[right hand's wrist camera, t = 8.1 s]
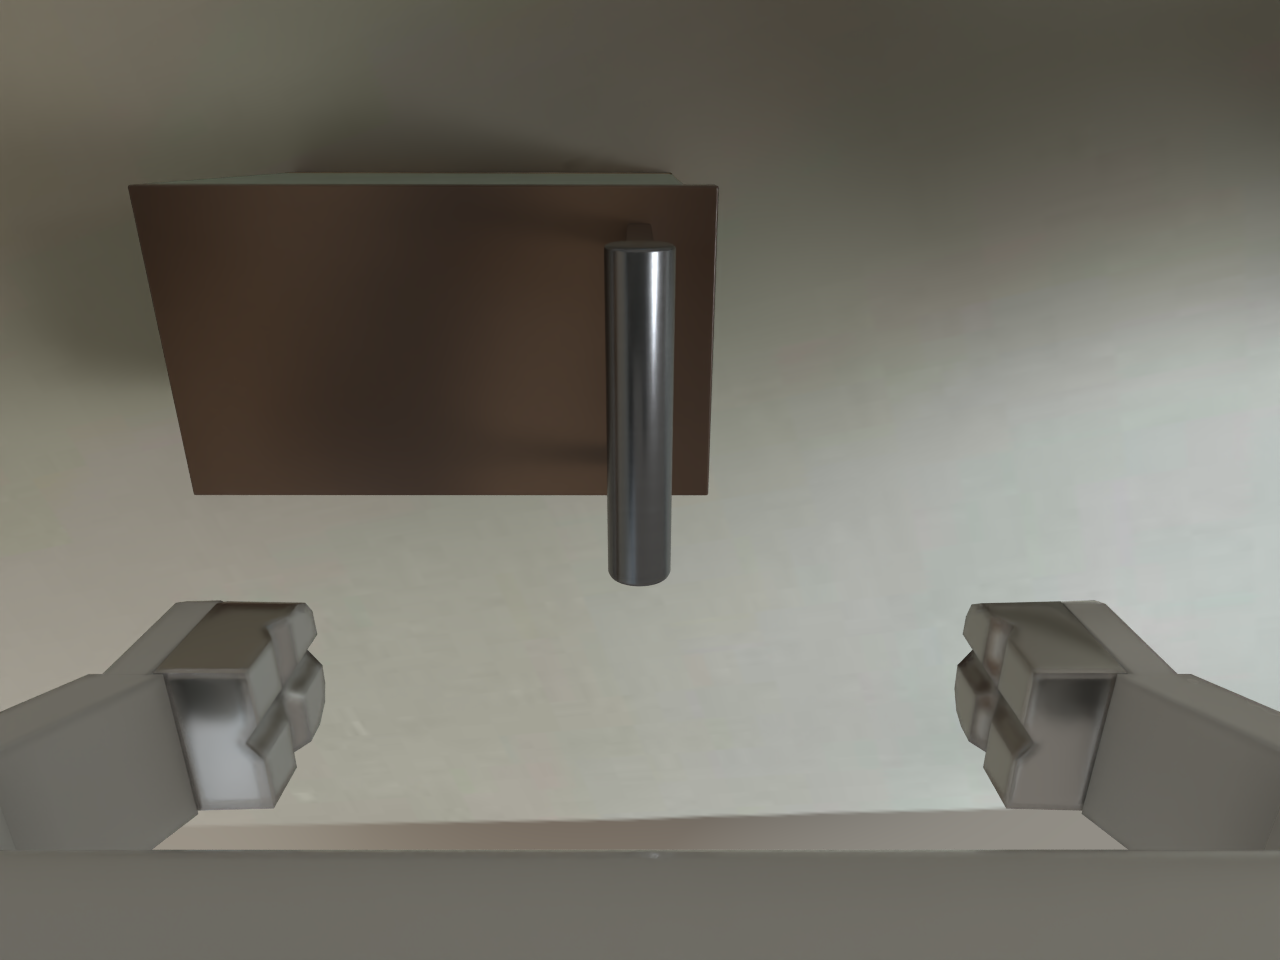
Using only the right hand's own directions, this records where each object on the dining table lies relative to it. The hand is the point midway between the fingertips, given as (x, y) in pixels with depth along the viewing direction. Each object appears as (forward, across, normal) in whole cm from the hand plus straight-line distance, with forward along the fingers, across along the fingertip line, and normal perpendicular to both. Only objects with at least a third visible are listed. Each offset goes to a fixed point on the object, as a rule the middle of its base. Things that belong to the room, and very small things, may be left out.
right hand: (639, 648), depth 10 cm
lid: (+17, +6, 0) cm, 18 cm away
